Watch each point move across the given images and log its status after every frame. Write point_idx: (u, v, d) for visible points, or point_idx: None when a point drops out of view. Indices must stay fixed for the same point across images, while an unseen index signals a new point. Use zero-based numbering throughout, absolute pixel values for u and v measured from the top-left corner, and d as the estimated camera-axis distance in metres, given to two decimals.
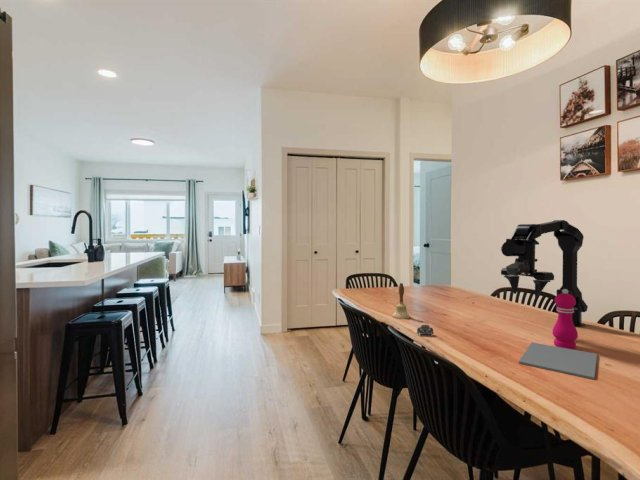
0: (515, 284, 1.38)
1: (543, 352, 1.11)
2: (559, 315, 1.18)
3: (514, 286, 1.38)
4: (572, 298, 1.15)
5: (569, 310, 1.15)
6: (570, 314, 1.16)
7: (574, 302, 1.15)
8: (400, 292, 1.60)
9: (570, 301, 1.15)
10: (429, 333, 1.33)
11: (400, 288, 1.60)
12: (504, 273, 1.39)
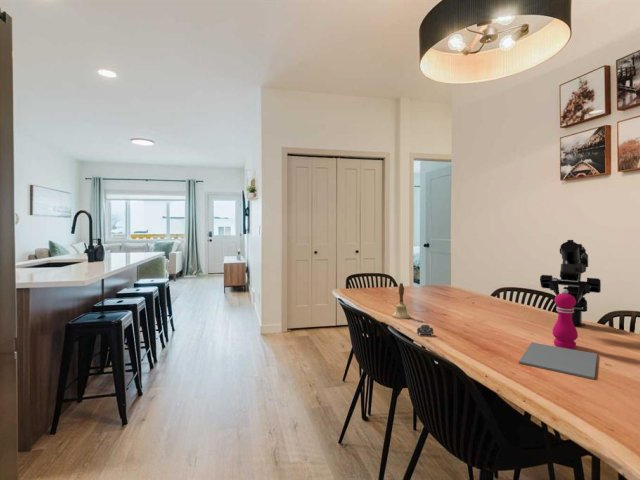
0: None
1: (543, 352, 1.11)
2: (559, 315, 1.18)
3: None
4: (572, 298, 1.15)
5: (569, 310, 1.15)
6: (570, 314, 1.16)
7: (574, 302, 1.15)
8: (400, 292, 1.60)
9: (570, 301, 1.15)
10: (429, 333, 1.33)
11: (400, 288, 1.60)
12: (546, 277, 1.34)
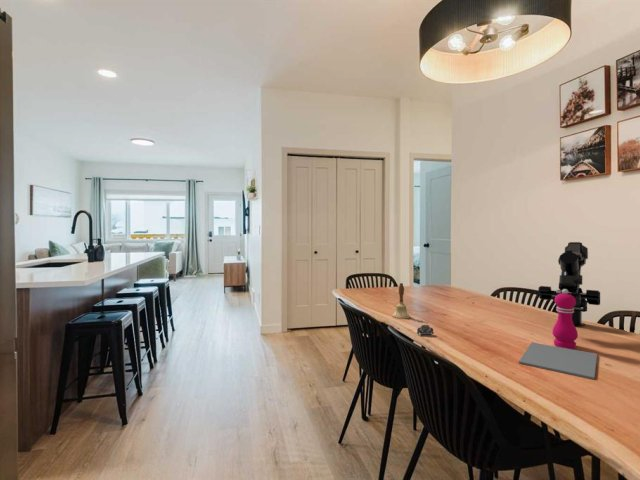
0: None
1: (543, 352, 1.11)
2: (559, 315, 1.18)
3: None
4: (572, 298, 1.15)
5: (569, 310, 1.15)
6: (570, 314, 1.16)
7: (574, 302, 1.15)
8: (400, 292, 1.60)
9: (570, 301, 1.15)
10: (429, 333, 1.33)
11: (400, 288, 1.60)
12: (544, 289, 1.31)
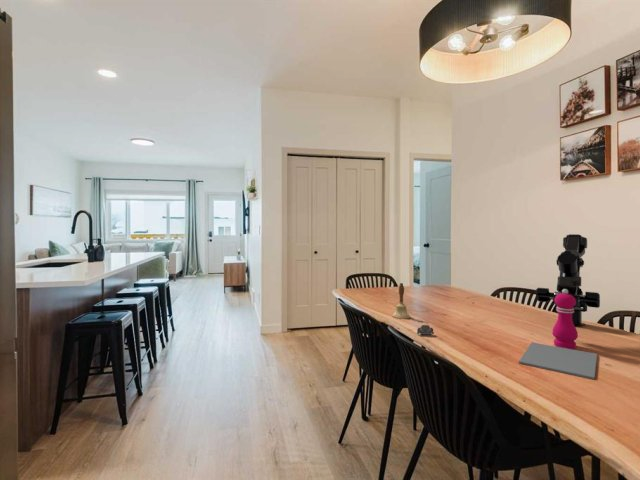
0: None
1: (543, 352, 1.11)
2: (559, 315, 1.18)
3: None
4: (572, 298, 1.15)
5: (569, 310, 1.15)
6: (570, 314, 1.16)
7: (574, 302, 1.15)
8: (400, 292, 1.60)
9: (570, 301, 1.15)
10: (429, 333, 1.33)
11: (400, 288, 1.60)
12: (542, 290, 1.27)
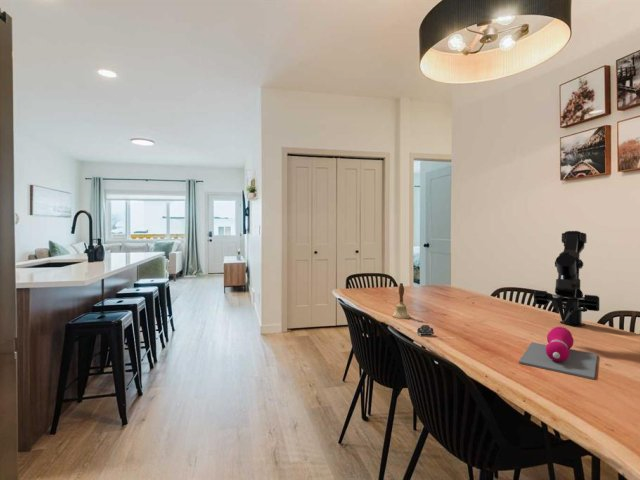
0: None
1: (543, 352, 1.11)
2: None
3: None
4: (566, 357, 1.01)
5: None
6: None
7: (568, 355, 1.02)
8: (400, 292, 1.60)
9: None
10: (429, 333, 1.33)
11: (400, 288, 1.60)
12: (540, 293, 1.23)
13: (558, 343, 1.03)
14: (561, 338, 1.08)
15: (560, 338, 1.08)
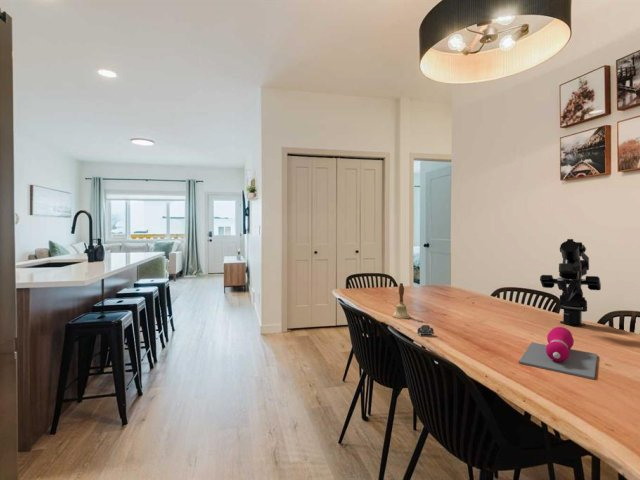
0: (567, 292, 1.31)
1: (543, 352, 1.11)
2: None
3: (567, 293, 1.30)
4: (566, 357, 1.01)
5: None
6: None
7: None
8: (400, 292, 1.60)
9: None
10: (429, 333, 1.33)
11: (400, 288, 1.60)
12: (546, 277, 1.36)
13: (558, 343, 1.03)
14: (561, 338, 1.08)
15: (560, 338, 1.08)
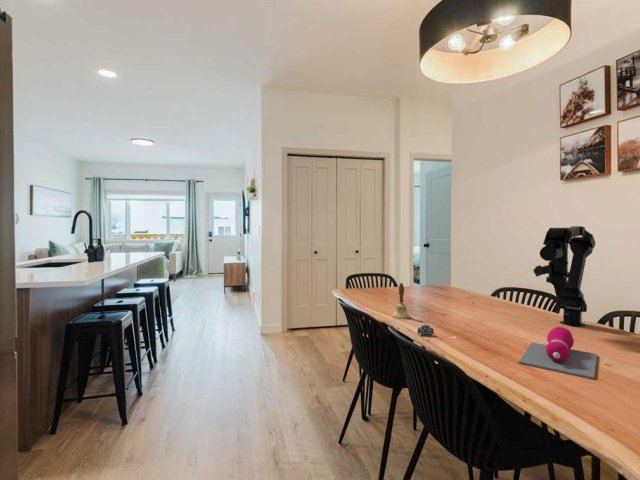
0: None
1: (543, 352, 1.11)
2: None
3: None
4: (566, 357, 1.01)
5: None
6: None
7: None
8: (400, 292, 1.60)
9: None
10: (429, 333, 1.33)
11: (400, 288, 1.60)
12: None
13: (558, 343, 1.03)
14: (561, 338, 1.08)
15: (560, 338, 1.08)
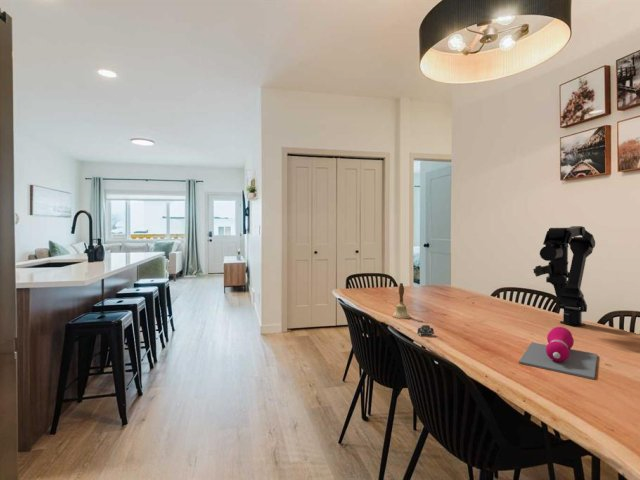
0: None
1: (543, 352, 1.11)
2: None
3: None
4: (566, 357, 1.01)
5: None
6: None
7: None
8: (400, 292, 1.60)
9: None
10: (430, 333, 1.33)
11: (400, 288, 1.60)
12: None
13: (558, 343, 1.03)
14: (561, 338, 1.08)
15: (560, 338, 1.08)
